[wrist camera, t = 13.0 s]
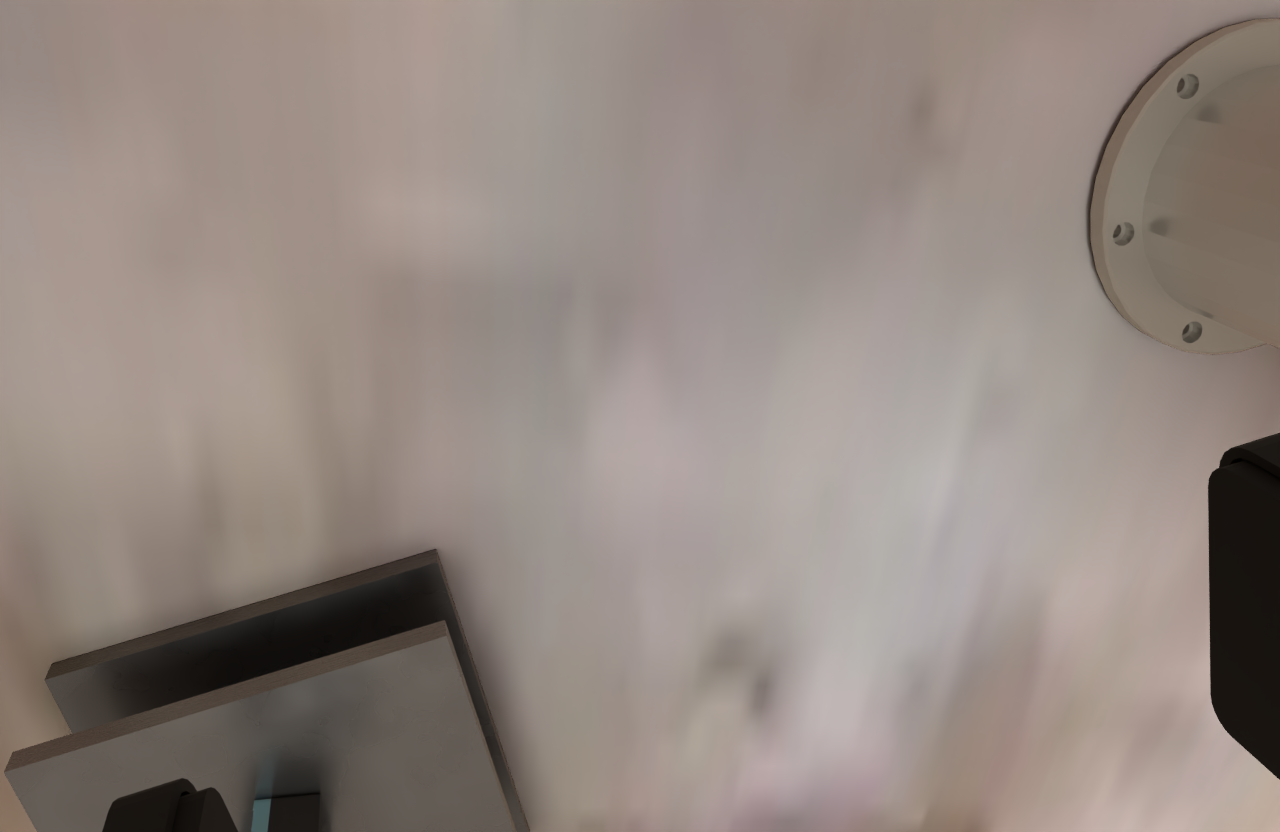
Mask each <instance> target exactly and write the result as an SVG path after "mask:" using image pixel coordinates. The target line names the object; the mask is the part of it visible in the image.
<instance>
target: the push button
mask: <svg viewBox="0 0 1280 832" xmlns="http://www.w3.org/2000/svg"><path fill="white" fill-rule="evenodd" d="M251 832H321V795H320V794H318V795H307V796H295V797H284V798H273V799H263V800H254V805H253V821H252V828H251Z"/></svg>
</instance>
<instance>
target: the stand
mask: <svg viewBox="0 0 1280 832" xmlns="http://www.w3.org/2000/svg"><path fill="white" fill-rule="evenodd" d="M45 682H46V684H47V685H48V687H49V689H50V691H51V693H52V695H53V697H54V699H55V701H56V703H57V705H58V706H59V708H60V710H61V712H62V714H63V716H64V718H65V720H66V722H67V724H68V726H69V727H70V729H71V731H72V733H73V734H70V735H67V736H64V737H60V738H57V739H54V740H51V741H47V742H44V743H41V744H38V745H34V746H31V747H28V748H25V749H21V750H18V751H15V752H13V753H12V755H11V757H10V760H9V762H8V764H7V766H6V769H5V771H4V774H5V775H6V777H7V779H8V781H9V782H10V784H11V786H12V788H13V790H14V791H15V793H16V795H17V797H18V798H19V800H20V802H21V804H22V805H23V807H24V809H25V811H26V813H27V814H28V816H29V818H30V820H31V821H32V823H33V825H34V827H35V829H36V830H37V832H102V830H103V827H104V824H105V820H106V817H107V814H108V811H109V808H110V806H111V804H112V802H113V801H115V800H116V799H118V798H120V797H123V796H126V795H129V794H133V793H136V792H139V791H142V790H145V789H149V788H152V787H155V786H158V785H161V784H164V783H168V782H171V781H174V780H177V779H180V778H184V779H188V780H189V781H190V782H191V783H192V784H193V785H194V787H195V789H196V790H197V791H200V790H203V789H206V788H209V787H212V788H215V789H216V790H217V791H218V792H219V793H220V795H221V797H222V799H223V800H224V803H225V805H226V807H227V809H228V811H229V813H230V815H231V817H232V820H233V822H234V824H235V826H236V828H237V830H238V832H251V828H252V821H253V805H254V800H263V799H273V798H284V797H295V796H307V795H318V794H320V795H321V832H530V830H529V827H528V824H527V821H526V818H525V815H524V812H523V809H522V806H521V803H520V800H519V797H518V794H517V791H516V788H515V785H514V782H513V779H512V776H511V773H510V770H509V767H508V764H507V761H506V758H505V755H504V752H503V749H502V746H501V743H500V740H499V737H498V734H497V731H496V728H495V725H494V722H493V719H492V716H491V713H490V710H489V707H488V704H487V701H486V698H485V695H484V692H483V689H482V686H481V683H480V680H479V677H478V674H477V671H476V668H475V665H474V662H473V659H472V656H471V653H470V650H469V647H468V643H467V640H466V637H465V634H464V631H463V628H462V625H461V622H460V619H459V616H458V613H457V610H456V607H455V604H454V601H453V598H452V595H451V592H450V589H449V586H448V583H447V580H446V577H445V574H444V571H443V568H442V565H441V562H440V559H439V556H438V553H437V550H436V549H435V550H432V551H428V552H425V553H422V554H418V555H415V556H412V557H408V558H405V559H402V560H398V561H395V562H392V563H388V564H385V565H381V566H378V567H375V568H371V569H368V570H365V571H361V572H358V573H355V574H351V575H348V576H345V577H341V578H338V579H335V580H331V581H328V582H325V583H321V584H318V585H315V586H311V587H308V588H305V589H301V590H298V591H294V592H291V593H288V594H284V595H281V596H278V597H274V598H271V599H268V600H264V601H261V602H258V603H254V604H251V605H248V606H244V607H241V608H238V609H234V610H231V611H228V612H224V613H221V614H218V615H214V616H211V617H207V618H204V619H201V620H197V621H194V622H191V623H187V624H184V625H181V626H177V627H174V628H171V629H167V630H164V631H161V632H157V633H154V634H151V635H147V636H144V637H141V638H137V639H134V640H131V641H127V642H124V643H120V644H117V645H114V646H110V647H107V648H104V649H100V650H97V651H94V652H90V653H87V654H84V655H80V656H77V657H74V658H70V659H67V660H64V661H60V662H57V663H54V664H52V665H51V667H50V669H49V671H48V674H47V676H46V678H45Z"/></svg>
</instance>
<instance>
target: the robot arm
mask: <svg viewBox="0 0 1280 832" xmlns="http://www.w3.org/2000/svg"><path fill="white" fill-rule="evenodd" d="M1090 219H1091V246H1092V251H1093V256H1094V261H1095V266H1096V271H1097V273H1098V275H1099V278H1100V280H1101V282H1102V285H1103V287H1104V289H1105V292H1106V294H1107V296H1108V297H1109V299H1110V300H1111V301H1112V303H1113V304H1114V305H1115V307H1116V308H1117V310H1118V311H1119V312H1120V314H1121V315H1122V316H1123V317H1124V318H1125V319H1126V320H1128V321H1129V322H1130V323H1131V324H1132V325H1133V326H1135V327H1136V328H1137V329H1138V330H1139V331H1141V332H1142V333H1144V334H1146V335H1148V336H1150V337H1152V338H1154V339H1156V340H1158V341H1160V342H1162V343H1163V344H1166V345H1168V346H1171V347H1174V348H1176V349H1179V350H1181V351H1185V352H1191V353H1201V354H1210V355H1216V354H1225V353H1235V352H1241V351H1245V350H1248V349H1251V348H1254V347H1258V346H1261V345H1264V344H1267V343H1268V344H1270V345H1273V346H1275V347H1277V348H1280V18H1277V19H1254V20H1250V21H1247V22H1243V23H1239V24H1235V25H1232V26H1228V27H1224V28H1222V29H1220V30H1218V31H1216V32H1214V33H1212V34H1210V35H1208V36H1206V37H1204V38H1202V39H1200V40H1198V41H1196V42H1194V43H1193V44H1192V45H1190V46H1189V47H1187V48H1186V49H1185V50H1183V51H1182V52H1181V53H1179V54H1178V55H1176V56H1175V57H1174V58H1172V59H1171V60H1170V61H1168V62H1167V63H1166V64H1165V65H1164V66H1163V67H1162V68H1161V69H1160V70H1159V71H1158V72H1157V73H1156V74H1155V75H1154V76H1153V77H1152V78H1151V79H1150V80H1149V81H1148V82H1147V83H1146V84H1145V85H1144V86H1143V88H1142V89H1141V91H1140V92H1139V93H1138V95H1137V96H1136V97H1135V99H1134V100H1133V102H1132V103H1131V104H1130V106H1129V107H1128V108H1127V110H1126V111H1125V113H1124V114H1123V115H1122V117H1121V119H1120V121H1119V123H1118V125H1117V127H1116V129H1115V131H1114V133H1113V135H1112V137H1111V139H1110V141H1109V143H1108V145H1107V147H1106V150H1105V153H1104V156H1103V159H1102V162H1101V165H1100V168H1099V171H1098V174H1097V176H1096V180H1095V186H1094V192H1093V198H1092V205H1091V211H1090ZM1208 508H1209V592H1210V677H1211V700H1212V705H1213V708H1214V711H1215V713H1216V715H1217V717H1218V719H1219V721H1220V723H1221V724H1222V726H1223V727H1224V729H1225V730H1226V731H1227V732H1228V733H1229V734H1230V735H1231V736H1232V737H1233V738H1234V739H1235V740H1236V741H1237V742H1238V743H1239V744H1241V745H1242V746H1243V747H1244V748H1245V749H1246V750H1247V751H1248V752H1249V753H1251V754H1252V755H1253V756H1254V757H1255V758H1256V759H1257V760H1258V761H1259V762H1261V763H1262V764H1263V765H1264V766H1265V767H1266V768H1267V769H1268V770H1269V771H1271V772H1272V773H1273V774H1274V775H1275V776H1276V777H1277V778H1278V779H1280V433H1278V434H1274V435H1271V436H1268V437H1265V438H1262V439H1258V440H1255V441H1252V442H1249V443H1246V444H1243V445H1239V446H1236V447H1233V448H1231V449H1229V450H1228V451H1226V452H1225V453H1224V455H1223V457H1222V459H1221V461H1220V466H1219V468H1218V469H1216V470H1215V471H1213V472H1212V474H1211V476H1210V478H1209V485H1208ZM102 832H238V830H237V828H236V826H235V824H234V822H233V820H232V817H231V815H230V813H229V811H228V809H227V807H226V805H225V803H224V800H223V799H222V797H221V795H220V793H219V792H218V791H217V790H216V789H215V788H212V787H209V788H206V789H203V790H200V791H197V790H196V789H195V787H194V785H193V784H192V783H191V782H190V781H189V780H188V779H184V778H180V779H177V780H174V781H171V782H168V783H164V784H161V785H158V786H155V787H152V788H149V789H145V790H142V791H139V792H136V793H133V794H129V795H126V796H123V797H120V798H118V799H116V800H115V801H113V802H112V804H111V806H110V808H109V811H108V814H107V817H106V820H105V824H104V827H103V830H102Z"/></svg>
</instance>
